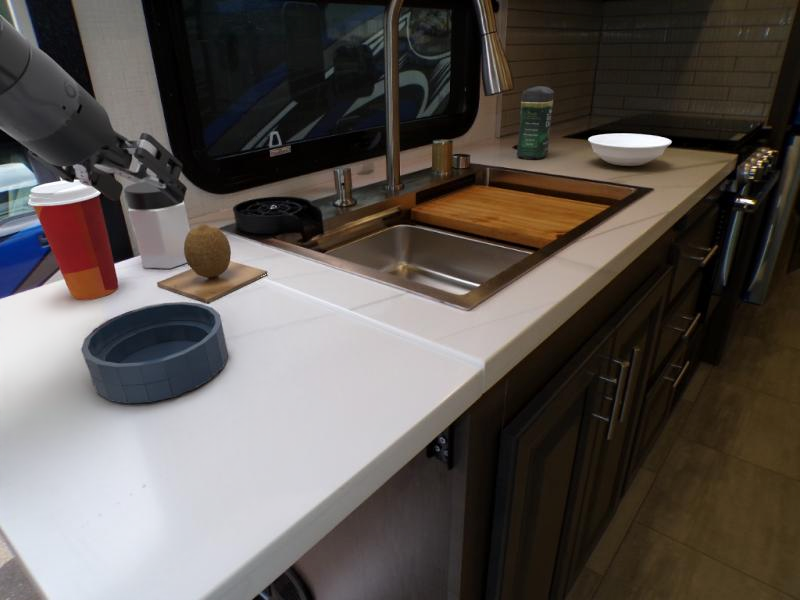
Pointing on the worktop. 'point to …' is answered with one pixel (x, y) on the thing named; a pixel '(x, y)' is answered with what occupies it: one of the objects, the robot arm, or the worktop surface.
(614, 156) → the bowl
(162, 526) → the worktop surface
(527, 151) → the green canister
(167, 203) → the jar
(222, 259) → the fruit
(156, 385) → the glazed bowl
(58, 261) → the coffee cup
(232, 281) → the board
